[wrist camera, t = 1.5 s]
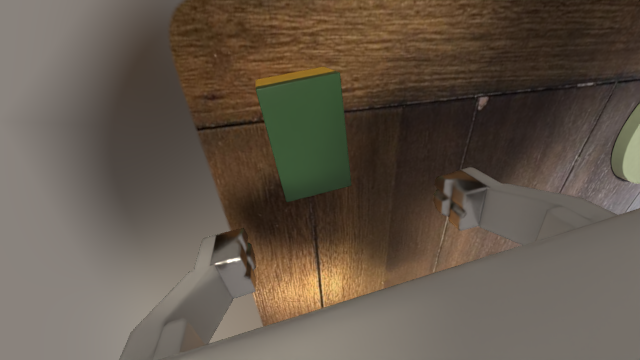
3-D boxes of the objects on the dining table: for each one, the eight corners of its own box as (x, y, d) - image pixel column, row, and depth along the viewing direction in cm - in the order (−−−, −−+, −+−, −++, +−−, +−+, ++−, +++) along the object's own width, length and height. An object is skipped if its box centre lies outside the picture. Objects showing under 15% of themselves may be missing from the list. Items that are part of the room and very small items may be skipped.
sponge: (255, 79, 18) (255, 89, 14) (324, 66, 18) (340, 72, 15) (281, 177, 22) (286, 202, 18) (336, 163, 22) (351, 185, 19)
